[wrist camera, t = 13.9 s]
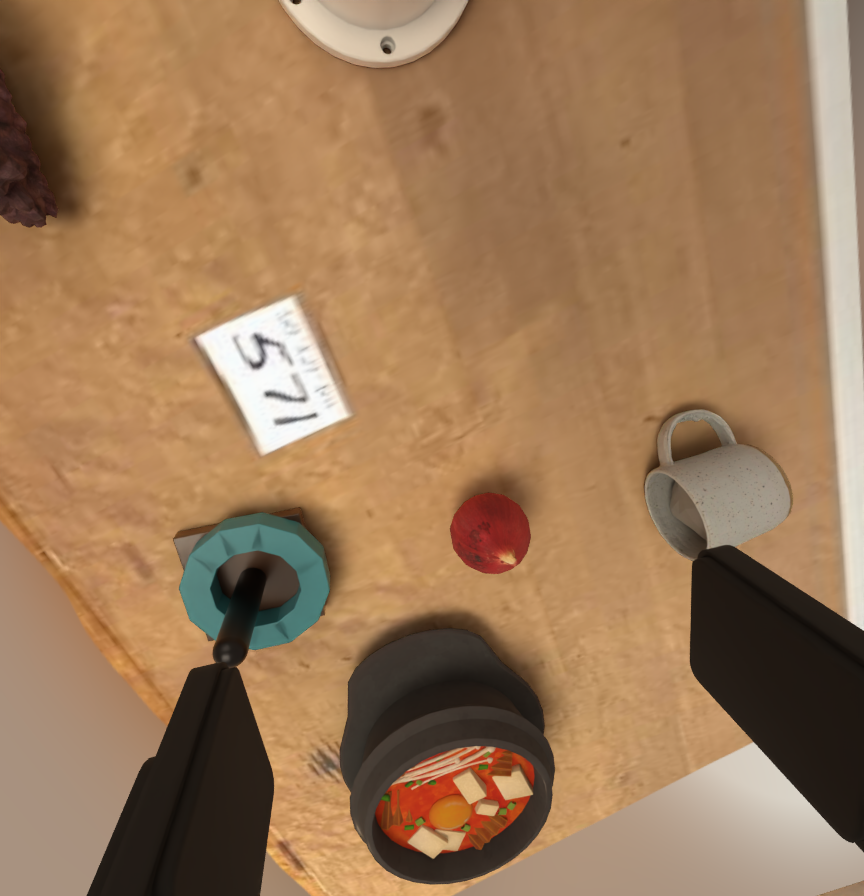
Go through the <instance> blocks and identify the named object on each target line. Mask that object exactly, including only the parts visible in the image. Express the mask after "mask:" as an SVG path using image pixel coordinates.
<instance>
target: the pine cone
mask: <svg viewBox="0 0 864 896" xmlns="http://www.w3.org/2000/svg"><path fill="white" fill-rule="evenodd" d="M11 100H12V95H11V93H10V92H9V90H8V89H7V87H6V85H5V74H4V73H3V71H2V70H1V69H0V215H1V216H2V217H3V218H4V219H6V220H7V221H8V222H10V223H13V224H15V223H18V222H21V223H22V225H24V226H26V227H32V226H33V225H35V226H36V227H42V226H44V225H46V222H45V221H46V215H51V216H53V217H56V216H57V212H58V209H59V208H58V207H57V206H56V203H55V197H54V195H53V192H52V191H51V190H50V189H49V188H48V185H47V184H48V183H47V180H46V178H45V176H44V175H43V174H42V173H41V172H40V170H39V169H40V166H41V164H40V160H39V157H38V156H37V155H36V153H35V152H34V151H33V150H32V143H31V141H30V139H29V137H28V135H26V134H25V133H26V126H27V123H26V122H25V120H24V119H23V118H22V117H21V116H20V114H18V113H17V112H16V111H15V108H14V106H13V104H12V103H11Z"/></svg>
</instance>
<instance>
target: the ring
mask: <svg viewBox="0 0 864 896" xmlns="http://www.w3.org/2000/svg"><path fill="white" fill-rule="evenodd" d="M257 550H259V551H262V552H266V553H270V554H274V555H278V556H281V557H282V558H283V559H284V560H285V561H286V562H287V563H288V564H289V565H290V566H291V567H293V568H294V569H295V570H296V571H297V575H298V579H299V583H300V586H299V588H298V591H297V594H296V595H295V596H293V597H292V598H291V599H290V600H288V601H287V602H286V603H284V604H283V605H282V606H281V607H276V608H272V609H267V610H262V611H258V615H257V619H256V623H255V626H254V630H253V634H252V638H251V642H250V646H249V649H252V650H258V649H262V648H267V647H271V646H276V645H280V644H285V643H289V642H292V641H293V640H294V639H295V638H297V637H298V636H299V635H300V634H302V633H303V632H304V631H305V630H307V629H308V628H309V627H311V626H312V625H313V624H314V623H316V622H317V621H318V620H319V617H320V615H321V612H322V609H323V607H324V604H325V602H326V599H327V597H328V594H329V592H330V572H329V568H328V564H327V559H326V555H325V551H324V547H323V545H322V544H321V543H320V542H319V541H318V540H317V539H316V538H315V537H314V536H313V535H311V534H310V533H309V532H308V531H307V530H306V529H305V528H304V527H303V526H302V525H301V524H300V523H299V522H296V521H292V520H288V519H285V518H281V517H278V516H274V515H271V514H267V513H263V512H261V513H256V514H251V515H245V516H240V517H235V518H230V519H225V520H224V521H222V522H221V523H220V524H219V525H217V526H216V527H215V528H214V529H213V530H211V531H210V532H209V533H208V534H206V535H205V536H204V537H203V538H201V539H200V540H199V541H198V542H197V543H196V545H195V546H194V548H193V550H192V552H191V553H190V555H189V558H188V561H187V564H186V567H185V570H184V574H183V577H182V580H181V583H180V586H179V590H180V593H181V596H182V599H183V602H184V605H185V607H186V610H187V613H188V616H189V619H190V621H191V622H193V623H194V624H195V625H196V626H198V627H199V628H200V629H201V630H203V631H204V632H205V633H206V634H208V635H209V636H210V637H211V638H213V639H214V640H215V641H216V639H217V636H218V633H219V631H220V628H221V625H222V622H223V620H224V617H225V614H226V611H227V608H228V606H229V603H230V599H229V598H228V597H227V596H226V595H224V594H223V593H222V590H221V587H220V583H219V580H218V577H217V572H218V569H219V567H220V566H221V565H223V564H224V563H225V562H226V561H227V560H229V559H230V558H231V557H232V556H234V555H237V554H242V553H247V552H252V551H257Z"/></svg>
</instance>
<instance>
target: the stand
mask: <svg viewBox="0 0 864 896" xmlns="http://www.w3.org/2000/svg"><path fill="white" fill-rule="evenodd" d="M270 514H271V515H274V516H278V517H281V518H285V519H288V520H292V521H296V522H299V523H300V524H301V525H302V526H303V527H304V528H305V524H304V520H303V516H302V512H301V508H300V507H299V508H294V509H289V510H284V511H279V512H275V513H270ZM217 525H219V524H215V525H210V526H205V527H200V528H195V529H190V530H185V531H180V532H178V533H177V534H176V536H175V537H174V539H173V541H174V543H175V546H176V549H177V552H178V555H179V558H180V561H181V564H182V566H183V569H184V570H185V567H186V564H187V561H188V558H189V555H190V553H191V552H192V550H193V548H194V546H195V545H196V543H197V542H198V541H199V540H200V539H201V538H203V537H204V536H205V535H206V534H208V533H209V532H210V531H211V530H213V529H214V528H215V527H216V526H217ZM305 529H306V528H305ZM217 577H218V580H219V583H220V587H221V590H222V593H223V594H224V595H226V596H227V597H228V598H229V599H230V603H229V606H228V608H227V611H226V614H225V617H224V620H223V622H222V625H221V628H220V631H219V633H218V636H217V639H216V642H215V645H214V647H213V658H214V661H215V662H216V663H219V662H225V663H226V664H227V665H228V667H229V668H233V667H236V666H238V665H239V664H241V663H242V662H243V661H244V659H245V658H246V656H247V653H248V649H249V646H250V642H251V638H252V634H253V630H254V626H255V623H256V619H257V615H258V611H262V610H267V609H272V608H276V607H281V606H282V605H283V604H284V603H286V602H287V601H288V600H290V599H291V598H292V597H293V596H295V595H296V594H297V591H298V588H299V586H300V583H299V579H298V575H297V571H296V570H295V569H294V568H293V567H291V566H290V565H289V564H288V563H287V562H286V561H285V560H284V559H283V558H282V557H281V556H278V555H274V554H270V553H266V552H262V551H259V550H257V551H252V552H247V553H242V554H237V555H234V556H232V557H231V558H230V559H229V560H227V561H226V562H225V563H224V564H223V565H221V566H220V567H219V569H218V572H217ZM323 615H325V604H324V607H323V609H322V612H321V615H320V616H323ZM206 635H207V638H208V641H213V640H214V639H213V638H211V637H210V636H209V635H208V634H206Z"/></svg>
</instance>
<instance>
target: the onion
mask: <svg viewBox="0 0 864 896" xmlns="http://www.w3.org/2000/svg"><path fill="white" fill-rule="evenodd" d="M450 532H451V538H452V543H453V548H454V550H455V552H456V553H457V554H458V556H459V557H460V558H461V559H462V560H463V562H464V563H465V564H466V565H468V566H469V567H471V568H473V569H476V570H478V571H480V572H483V573H489V574H500V573H503V572H506V571H508V570H511V569H512V568H514V567H515V566H517V565H518V564H520V563H521V561H522V559H523V558H524V556H525V555H526V553H527V551H528V547H529V543H530V538H531V534H530V528H529V522H528V519H527V517H526V515H525V514H524V512H523V511H522V509H521V507H520V506H519V505H518V504H517V503H515V502H514V501H512V500H511V499H509V498H508V497H506V496H504V495H502V494H495V493H485V494H480V495H476V496H474V497H472V498H470V499H469V500H467V501H465V502H464V503H463V504H462V506H461V507H460V508H459V509H458V511H457V512H456V513H455V514H454V517H453V520H452V524H451V527H450Z"/></svg>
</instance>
